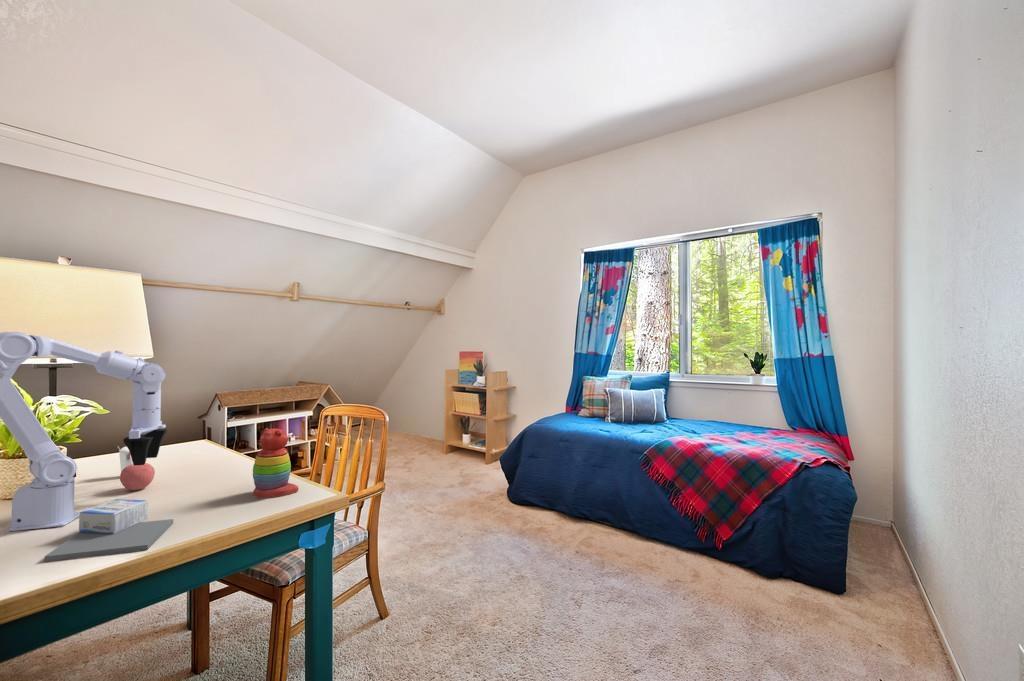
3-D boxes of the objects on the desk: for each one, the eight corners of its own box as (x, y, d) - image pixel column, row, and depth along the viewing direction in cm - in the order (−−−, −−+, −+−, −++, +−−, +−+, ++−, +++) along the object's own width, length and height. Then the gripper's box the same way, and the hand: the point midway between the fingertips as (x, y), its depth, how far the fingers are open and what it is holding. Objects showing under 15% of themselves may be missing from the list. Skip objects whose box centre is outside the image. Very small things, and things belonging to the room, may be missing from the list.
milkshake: (111, 478, 136) (112, 445, 136) (131, 473, 141) (131, 441, 141) (122, 480, 135) (123, 446, 135) (141, 475, 140) (142, 442, 140)
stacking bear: (301, 491, 127) (302, 427, 127) (266, 501, 119) (267, 433, 119) (278, 484, 133) (279, 423, 133) (243, 494, 124) (244, 429, 124)
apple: (129, 486, 129) (130, 458, 130) (159, 484, 131) (159, 457, 131) (113, 494, 122) (114, 465, 122) (144, 493, 124) (145, 463, 124)
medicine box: (149, 499, 104) (113, 513, 95) (148, 519, 103) (113, 534, 95) (116, 498, 104) (78, 511, 95) (116, 518, 104) (77, 533, 95)
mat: (44, 561, 85) (44, 556, 85) (85, 532, 98) (85, 527, 98) (147, 549, 90) (147, 544, 90) (173, 523, 104) (173, 518, 104)
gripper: (154, 412, 112) (153, 467, 112) (175, 404, 126) (174, 453, 126) (118, 413, 110) (117, 469, 110) (144, 405, 123) (143, 455, 123)
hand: (145, 461), depth 117 cm, fingers open, 7 cm apart
